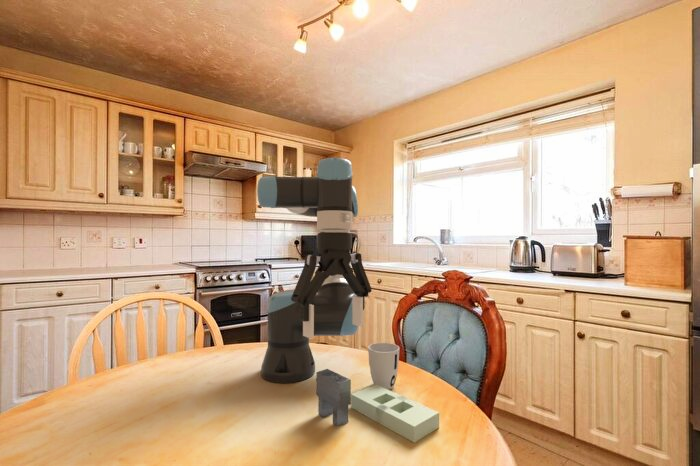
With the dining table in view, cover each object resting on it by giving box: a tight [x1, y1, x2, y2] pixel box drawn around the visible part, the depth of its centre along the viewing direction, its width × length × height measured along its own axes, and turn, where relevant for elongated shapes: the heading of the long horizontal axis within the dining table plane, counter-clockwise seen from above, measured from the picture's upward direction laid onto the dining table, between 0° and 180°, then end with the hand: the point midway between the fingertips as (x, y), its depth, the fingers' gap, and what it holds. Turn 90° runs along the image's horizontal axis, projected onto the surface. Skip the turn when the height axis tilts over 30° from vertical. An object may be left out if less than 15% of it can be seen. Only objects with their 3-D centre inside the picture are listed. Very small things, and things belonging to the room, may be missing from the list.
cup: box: [367, 342, 400, 391], centre depth 90 cm, size 8×8×10 cm
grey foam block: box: [315, 368, 352, 428], centre depth 74 cm, size 8×3×9 cm, turn 41°
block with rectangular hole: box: [350, 384, 440, 443], centre depth 75 cm, size 18×8×3 cm, turn 41°
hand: (334, 330), depth 74 cm, fingers open, 13 cm apart
